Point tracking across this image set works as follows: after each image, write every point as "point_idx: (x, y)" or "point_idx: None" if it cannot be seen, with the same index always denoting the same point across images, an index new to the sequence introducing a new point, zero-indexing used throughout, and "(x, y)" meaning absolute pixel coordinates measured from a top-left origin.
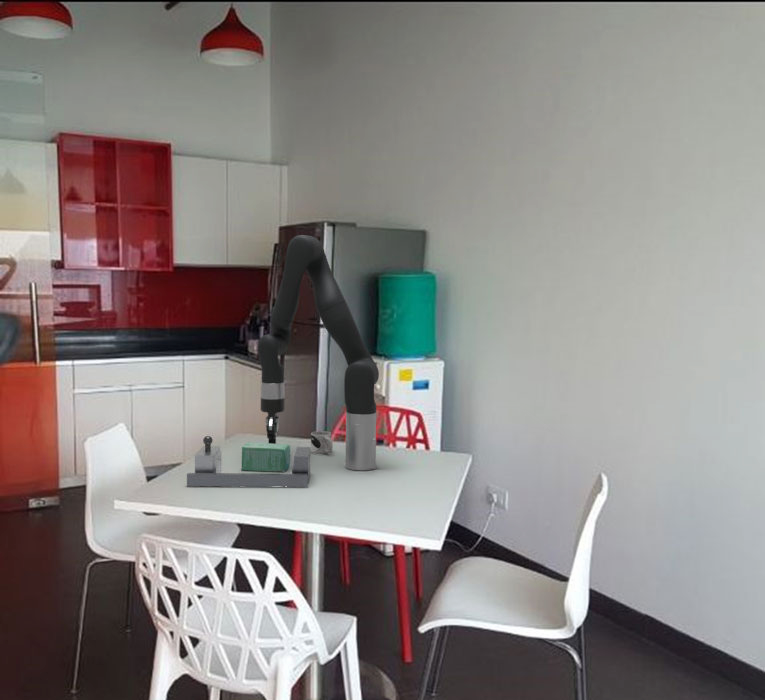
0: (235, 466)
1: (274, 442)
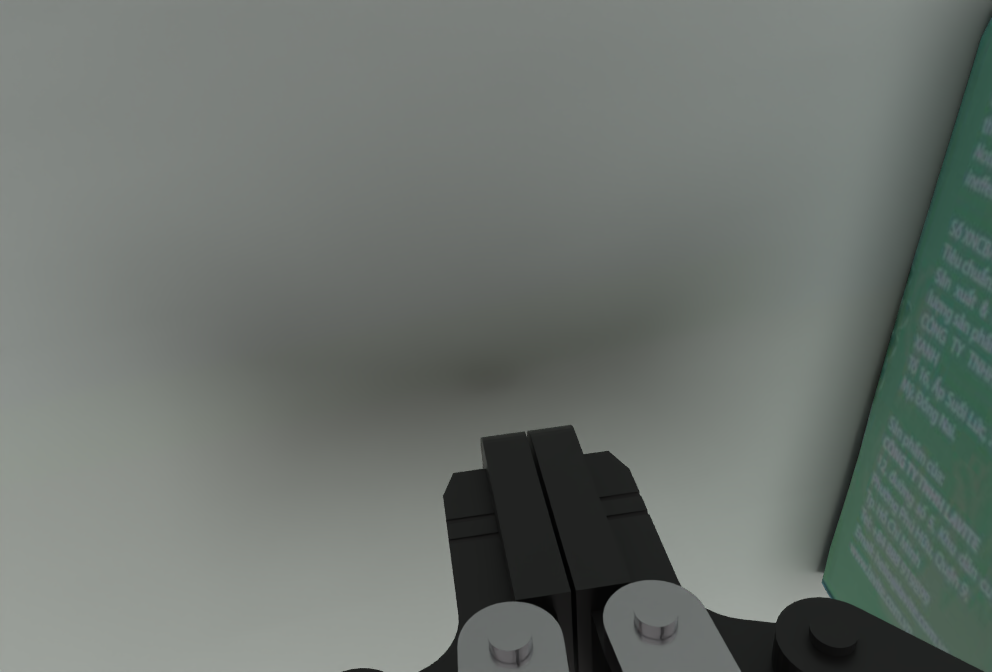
0: None
1: (612, 542)
